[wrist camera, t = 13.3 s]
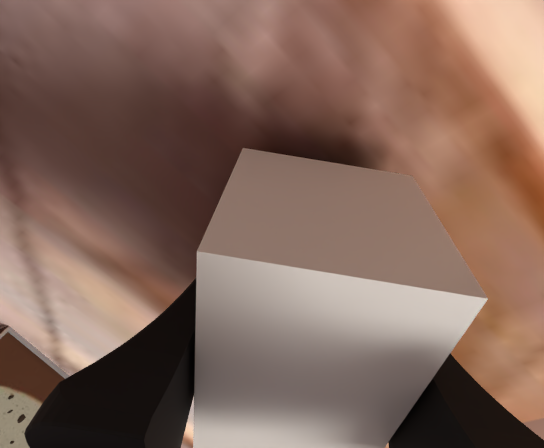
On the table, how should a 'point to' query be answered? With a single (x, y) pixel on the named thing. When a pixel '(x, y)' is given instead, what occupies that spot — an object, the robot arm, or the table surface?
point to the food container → (22, 386)
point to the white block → (321, 305)
